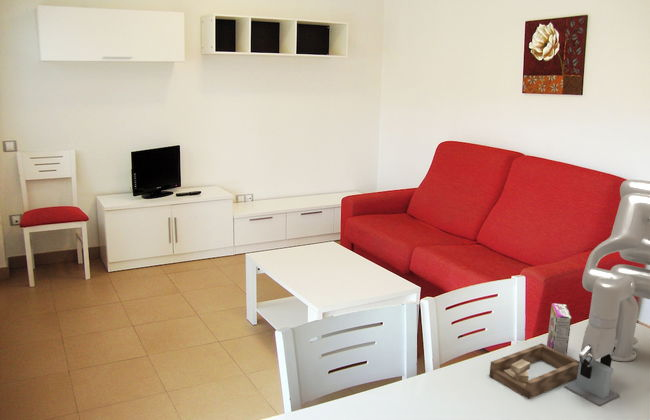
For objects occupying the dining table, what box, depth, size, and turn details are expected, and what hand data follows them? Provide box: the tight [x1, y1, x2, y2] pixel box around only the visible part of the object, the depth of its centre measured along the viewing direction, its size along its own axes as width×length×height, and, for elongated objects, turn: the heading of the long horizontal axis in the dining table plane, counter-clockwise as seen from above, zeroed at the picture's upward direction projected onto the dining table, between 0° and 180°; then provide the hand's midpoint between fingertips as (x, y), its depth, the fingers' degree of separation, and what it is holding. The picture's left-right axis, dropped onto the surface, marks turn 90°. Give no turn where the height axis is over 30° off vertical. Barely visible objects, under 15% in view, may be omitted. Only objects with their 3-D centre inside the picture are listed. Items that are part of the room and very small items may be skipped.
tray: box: [488, 343, 580, 400], centre depth 195 cm, size 25×15×5 cm, turn 123°
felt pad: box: [563, 380, 620, 407], centre depth 187 cm, size 10×12×1 cm
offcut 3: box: [503, 369, 526, 386], centre depth 191 cm, size 3×10×2 cm, turn 20°
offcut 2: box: [514, 362, 529, 383], centre depth 191 cm, size 3×8×2 cm, turn 172°
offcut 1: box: [510, 359, 531, 375], centre depth 190 cm, size 3×6×2 cm, turn 130°
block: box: [575, 357, 614, 399], centre depth 186 cm, size 3×9×9 cm, turn 33°
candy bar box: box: [546, 302, 572, 356], centre depth 208 cm, size 11×5×16 cm, turn 168°
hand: (595, 371), depth 186 cm, fingers open, 9 cm apart
